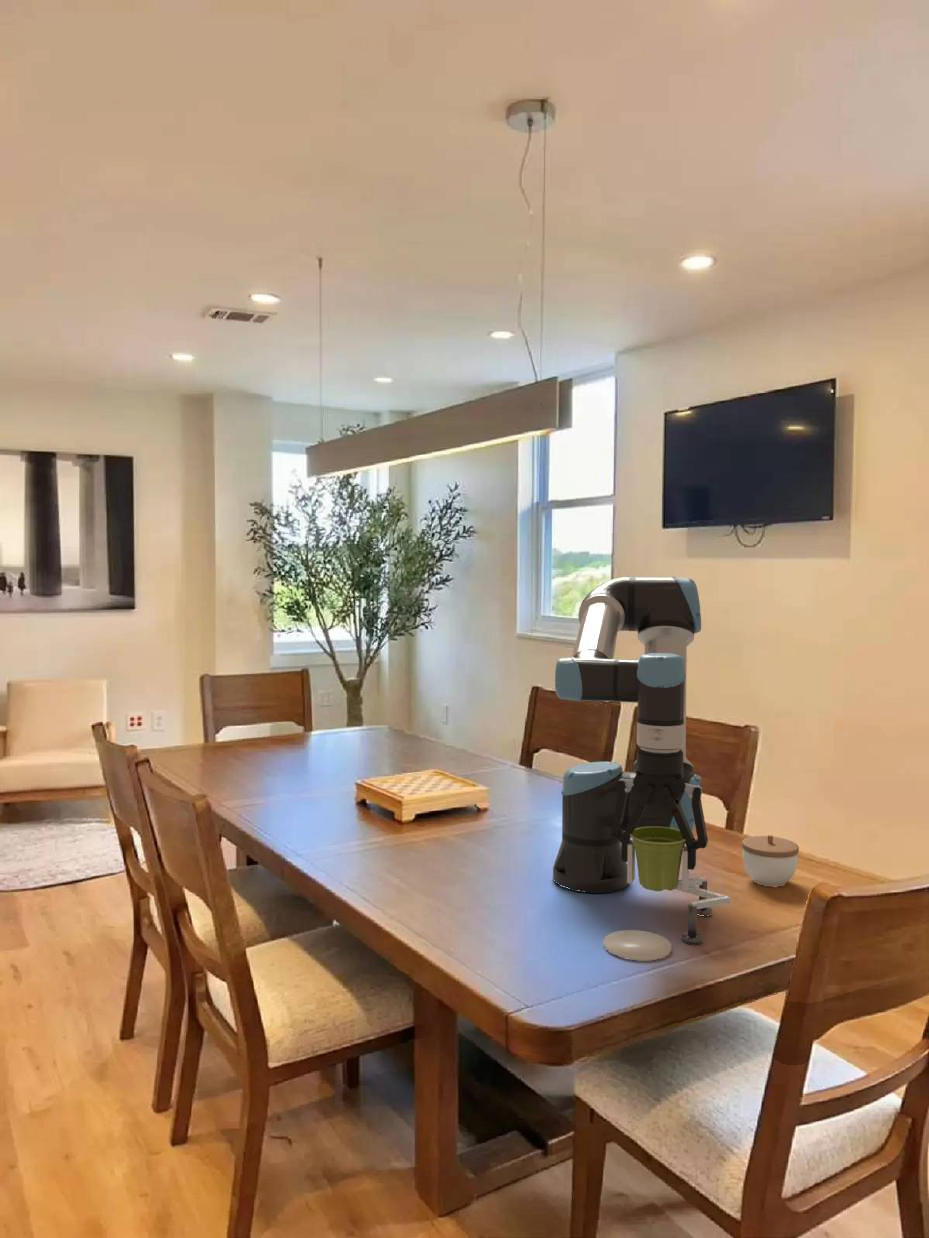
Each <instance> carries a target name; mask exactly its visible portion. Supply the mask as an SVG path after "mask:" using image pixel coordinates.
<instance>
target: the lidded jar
mask: <svg viewBox="0 0 929 1238" xmlns="http://www.w3.org/2000/svg"><path fill="white" fill-rule="evenodd" d="M741 847H742V853H741V855H742V862H743V866H744V869H745V871H746V874H748V877H749V876H750V878H751V879H752V880H754V881H755V882H756V883H759V884H761V885H764V886H763V887H766V886H782V887H784V886H785V885H786V884H785V883H788V882H789V881H790V880H791V879H792V878H793V877H794V876H795V873H796V871H797V868H798V863H799V862H798V861H799V851H800V847H799V845H798V844H797V843H795V842H794V841H792V840H789V839H787V838H783V837H777V836H774V835H772V834H768V835H757V836H756V835H755V836H749V837H746V838H744V839H742V841H741ZM754 881H753V882H754ZM755 882H754V883H755ZM756 883H755V884H756ZM759 884H758V885H759ZM784 884H785V885H784ZM761 885H760V886H761ZM783 885H784V886H783Z"/></svg>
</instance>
